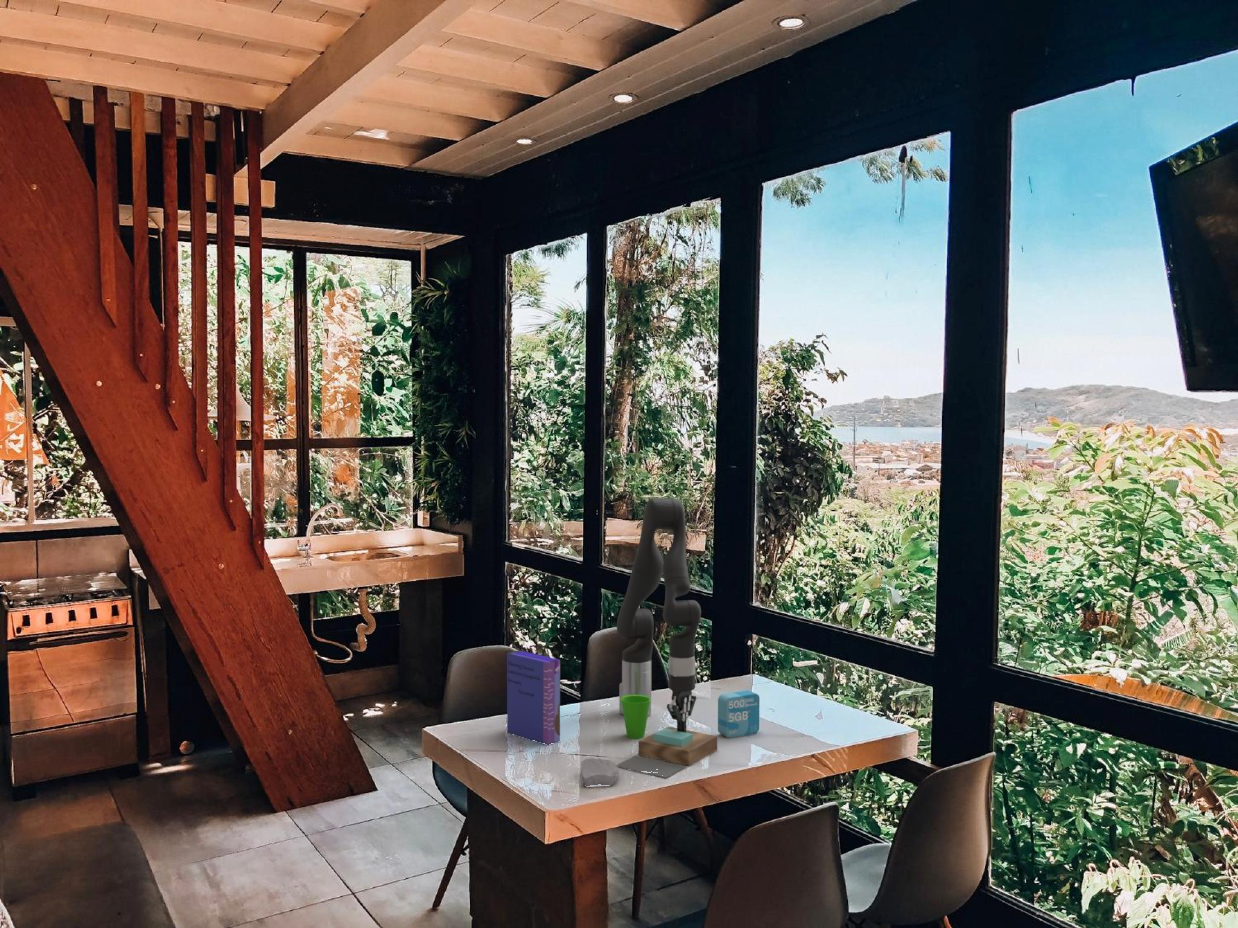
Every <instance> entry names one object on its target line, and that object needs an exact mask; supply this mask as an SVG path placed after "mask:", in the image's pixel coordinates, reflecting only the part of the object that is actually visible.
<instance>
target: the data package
mask: <svg viewBox="0 0 1238 928" xmlns="http://www.w3.org/2000/svg"><path fill="white" fill-rule="evenodd" d="M760 700H761V699H760V695H759V694H758V693H756V692H754V691H751V690H741V691H733V692H727V693H722V694H720V695H719V696H718V698H717V731H718V733H719V734H720V735H722V736H724V737H726V738H727V739H731V738H738V737H743V736H750V735H755V734H757V733H758V732H759V731H760Z"/></svg>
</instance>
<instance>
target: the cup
mask: <svg viewBox="0 0 1238 928" xmlns="http://www.w3.org/2000/svg"><path fill="white" fill-rule="evenodd" d="M620 700H621V701H622V706H623V713H624V715H623V718H624V726H625V731H626V737H628V738H630V739H641V738H642V739H643V738H645V734H646V730H647V729H646V728H647V722H648V710H649V704H650V701H651V702H652V697H651V698H650V697H648V696H644V695H627V696H623V697H621V699H620Z"/></svg>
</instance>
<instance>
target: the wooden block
mask: <svg viewBox="0 0 1238 928" xmlns="http://www.w3.org/2000/svg"><path fill="white" fill-rule="evenodd" d="M663 729H670V730H675V731H677V727H673V726H666V727H665V728H662V729H661V730H663ZM686 733H690V734H693V741H692V742H690V743H688V744H686V745H684V746H682V747H680V746H675V745H670V744H666V743H661V742H656V741H654V733H652V734H650V735H648V736H646V737H645V736H644V737H642V739H641V738H640V739H639V740H638V742H637V743H638V746H637V747H638V753H637V754H638V755H637V756H640V757H645V756H646V757H645V758H649V757H651V758H650V759H654V760H658V759H660V760H659V761H663V760H665V761H664V762H667V761H668V762H667V763H672V762H673V763H672V764H676V763H679V764H678V765H680V766H685V767H690V766H692V765H694V764H695V763H697V762H699V761H701V760H702V759H705V758H706V757H708V756H710V755H711V754H713V753H715V752H717V751H718V736H717V735H714V734H710V733H704V732H698V731H695V730H694V731H693V730H687V729H686ZM693 763H694V764H693Z"/></svg>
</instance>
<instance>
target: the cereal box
mask: <svg viewBox="0 0 1238 928" xmlns="http://www.w3.org/2000/svg"><path fill="white" fill-rule="evenodd" d="M506 671H507V672H506V684H507V685H506V687H507V688H506V698H507V699H506V712H507V713H506V720H507V721H506V724H507V725H506V733H507V734H509V733H510V735H512V734H514V735H513V736H516V737H519V736H520V737H519V738H522V737H524V738H523V739H525V738H526V739H525V740H528V739H530V740H529V741H532V740H535V741H537V742H536V743H538V742H541V743H545V744H547V745H548V746H550V745H549V744H551V743H555V742H558V741H560V742H561V659H558V658H554V657H550V656H545V655H540V654H536V653H533V652H528V651H522V650H514V651H513V650H512V651H510V652H507V653H506ZM535 741H534V742H535ZM541 743H540V744H541ZM558 743H559V742H558ZM555 744H556V743H555ZM547 745H546V746H547ZM551 745H552V744H551Z"/></svg>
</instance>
